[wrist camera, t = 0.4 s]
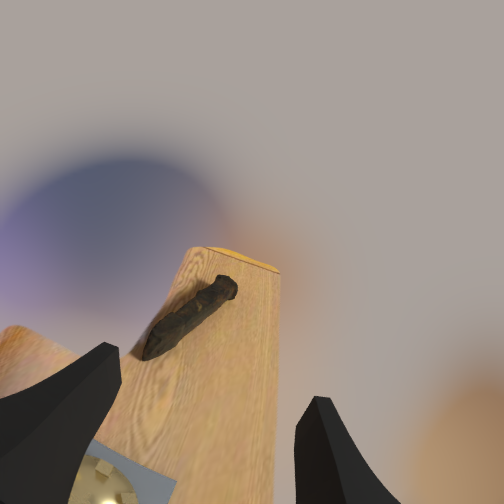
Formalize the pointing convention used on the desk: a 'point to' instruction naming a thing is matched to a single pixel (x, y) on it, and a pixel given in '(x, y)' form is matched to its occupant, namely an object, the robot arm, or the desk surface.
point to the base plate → (136, 475)
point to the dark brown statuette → (188, 316)
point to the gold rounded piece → (101, 484)
